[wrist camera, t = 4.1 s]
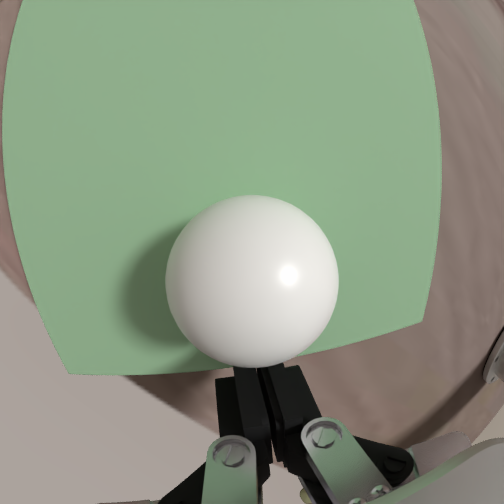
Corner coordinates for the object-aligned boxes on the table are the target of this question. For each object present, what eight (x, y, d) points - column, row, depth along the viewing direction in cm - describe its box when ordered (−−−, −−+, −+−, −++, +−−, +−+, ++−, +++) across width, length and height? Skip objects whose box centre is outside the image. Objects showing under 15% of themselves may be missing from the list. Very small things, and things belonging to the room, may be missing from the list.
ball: (303, 181, 9) (380, 204, 5) (305, 301, 10) (357, 380, 6) (165, 195, 8) (125, 231, 4) (187, 318, 10) (181, 413, 6)
